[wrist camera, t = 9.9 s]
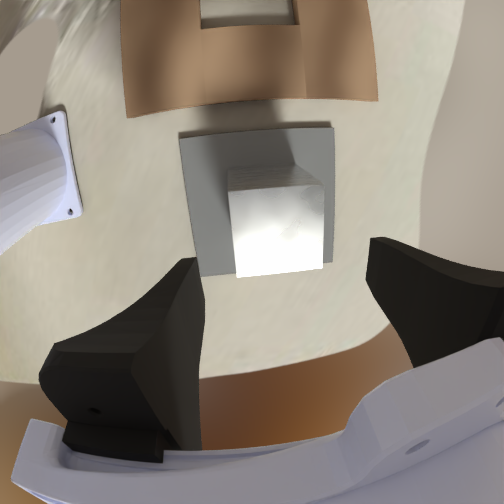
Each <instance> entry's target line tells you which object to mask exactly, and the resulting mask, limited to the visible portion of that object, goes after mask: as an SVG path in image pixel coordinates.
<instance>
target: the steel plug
mask: <svg viewBox="0 0 504 504" xmlns="http://www.w3.org/2000/svg"><path fill="white" fill-rule="evenodd" d="M228 197H229V207H230V217H231V226H232V236H233V245H234V254H235V263H236V272H237V277H246V276H256V275H265V274H274V273H283V272H292V271H301V270H310V269H318V268H322V260H323V236H324V184H323V183H322V182H320V181H319V180H318V179H316V178H315V177H314V176H312V175H311V174H309V173H308V172H307V171H305V170H304V169H302V168H301V167H300V166H298V165H297V164H295V163H294V164H277V165H262V166H250V167H238V168H228Z"/></svg>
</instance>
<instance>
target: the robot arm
mask: <svg viewBox="0 0 504 504" xmlns="http://www.w3.org/2000/svg"><path fill="white" fill-rule="evenodd" d="M54 117H55V118H56V120H55V122H53V118H54ZM70 209H72V211H73V214H72V213H71V212H70ZM82 213H83V207H82V203H81V199H80V195H79V190H78V186H77V181H76V176H75V171H74V166H73V160H72V155H71V149H70V142H69V135H68V128H67V120H66V114H65V112H64V111H57V112H54V113H52V114H49V115H47V116H44V117H42V118H40V119H37V120H35V121H33V122H31V123H29V124H26V125H24V126H22V127H20V128H18V129H15V130H13V131H11V132H9V133H7V134H3V135H0V255H1V254H3V253H4V252H5V251H6V250H7V249H8V248H10V247H11V246H12V245H13V244H14V243H16V242H17V241H18V240H19V239H21V238H22V237H23V236H24V235H26V234H27V233H28V232H29V231H31V230H32V229H33V228H35V227H36V226H38V225H42V224H47V223H52V222H56V221H61V220H66V219H71V218H76V217H79V216H80V215H81V214H82ZM366 282H367V284H368V286H369V288H370V290H371V292H372V294H373V296H374V298H375V300H376V301H377V303H378V304H379V306H380V307H381V309H382V310H383V312H384V313H385V315H386V316H387V318H388V319H389V321H390V322H391V324H392V325H393V327H394V328H395V330H396V331H397V333H398V335H399V337H400V338H401V340H402V342H403V344H404V346H405V349H406V351H407V353H408V355H409V357H410V360H411V363H412V365H413V369H411V370H408V371H406V372H404V373H401V374H399V375H397V376H395V377H393V378H390V379H389V380H386V381H384V382H383V383H382V384H380V385H379V386H378V387H376V388H375V389H374V390H372V391H371V392H369V393H368V394H367V395H365V396H364V397H363V399H362V400H361V401H360V403H359V404H358V405H357V407H356V408H355V409H354V411H353V412H352V414H351V415H350V417H349V420H348V423H347V425H346V428H345V429H344V430H342V431H339V432H336V433H334V434H331V435H327V436H323V437H318V438H313V439H308V440H303V441H297V442H291V443H285V444H278V445H271V446H263V447H253V448H243V449H231V450H211V451H209V450H208V451H202V442H201V429H200V411H199V364H200V356H201V348H202V340H203V332H204V324H205V298H204V293H203V288H202V283H201V278H200V272H199V267H198V262H197V257H192V258H183V259H181V260H179V261H178V262H177V263H176V264H175V266H174V267H173V268H172V269H171V270H170V271H169V272H168V273H167V274H166V275H165V276H164V277H163V278H162V279H161V280H160V281H159V282H158V283H157V284H156V285H155V286H154V287H152V288H151V289H150V290H149V291H148V292H147V293H146V294H145V295H144V296H143V297H141V298H140V299H139V300H138V301H136V302H135V303H134V304H132V305H131V306H130V307H128V308H127V309H125V310H124V311H122V312H121V313H119V314H117V315H116V316H114V317H112V318H111V319H109V320H108V321H106V322H104V323H102V324H100V325H98V326H96V327H94V328H92V329H90V330H88V331H86V332H84V333H81V334H79V335H76V336H74V337H71V338H68V339H66V340H63V341H60V342H57V343H54V345H53V347H52V349H51V351H50V353H49V354H48V356H47V358H46V360H45V362H44V364H43V366H42V368H41V370H40V372H39V382H40V385H41V388H42V390H43V391H44V393H45V394H46V396H47V397H48V398H49V400H50V401H51V402H52V403H53V404H54V406H55V407H56V408H57V409H58V410H59V411H60V413H61V414H62V415H63V416H64V417H65V418H66V419H67V420H68V422H67V426H66V429H64V428H62V427H60V426H59V425H56V424H53V423H48V422H44V421H40V420H36V419H30V422H29V424H28V427H27V430H26V432H25V435H24V438H23V441H22V444H21V447H20V450H19V453H18V456H17V459H16V462H15V465H14V469H13V472H12V476H11V480H12V482H13V483H15V484H17V485H18V486H20V487H21V488H23V489H24V490H26V491H27V492H29V493H31V494H33V495H34V496H36V497H38V498H39V499H41V500H43V501H45V502H46V503H48V504H504V272H501V271H491V270H486V269H481V268H476V267H471V266H467V265H462V264H459V263H456V262H452V261H449V260H446V259H443V258H440V257H437V256H434V255H432V254H429V253H427V252H424V251H422V250H419V249H417V248H414V247H412V246H409V245H407V244H404V243H402V242H399V241H396V240H393V239H390V238H386V237H376V238H370V247H369V256H368V264H367V272H366Z"/></svg>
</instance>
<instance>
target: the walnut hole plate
mask: <svg viewBox="0 0 504 504" xmlns="http://www.w3.org/2000/svg"><path fill="white" fill-rule="evenodd" d="M292 5H293V12H294V21H295V25H244V26H229V27H218V28H209V29H202V28H201V13H200V0H121V54H122V71H123V84H124V95H125V105H126V114H127V118H134V117H139V116H144V115H148V114H153V113H159V112H164V111H169V110H175V109H181V108H188V107H195V106H202V105H210V104H218V103H228V102H239V101H252V100H269V99H340V100H358V101H378V86H377V73H376V61H375V52H374V43H373V35H372V28H371V21H370V15H369V9H368V3H367V0H292Z"/></svg>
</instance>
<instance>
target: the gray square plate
mask: <svg viewBox="0 0 504 504" xmlns="http://www.w3.org/2000/svg"><path fill="white" fill-rule="evenodd" d="M179 142H180V150H181V157H182V165H183V172H184V179H185V186H186V193H187V200H188V206H189V212H190V218H191V225H192V231H193V236H194V242H195V248H196V253H197V259H198V264H199V270H200V275H201V277H205V276H214V275H224V274H233V273H237V272H236V263H235V254H234V245H233V236H232V226H231V217H230V207H229V197H228V168H238V167H250V166H262V165H277V164H294V163H295V164H297V165H298V166H300V167H301V168H302V169H304V170H305V171H307V172H308V173H309V174H311V175H312V176H314V177H315V178H316V179H318V180H319V181H320V182H322V183H323V184H324V236H323V260H322V263H329V262H332V261H333V242H334V215H335V138H334V128H284V129H266V130H252V131H240V132H230V133H220V134H212V135H204V136H196V137H189V138H182V139H179Z"/></svg>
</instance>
